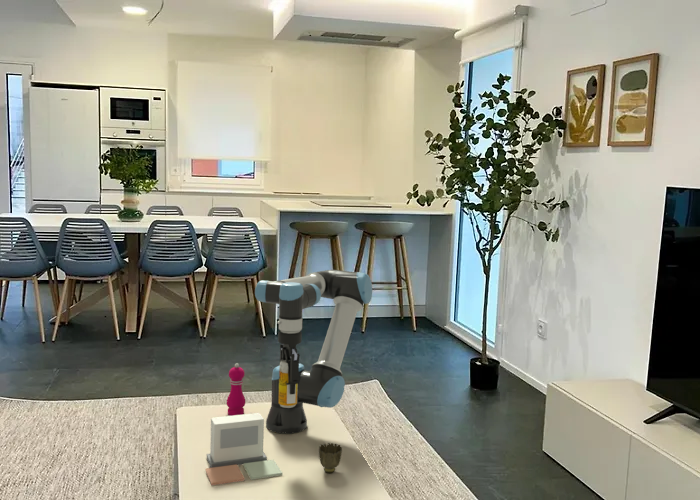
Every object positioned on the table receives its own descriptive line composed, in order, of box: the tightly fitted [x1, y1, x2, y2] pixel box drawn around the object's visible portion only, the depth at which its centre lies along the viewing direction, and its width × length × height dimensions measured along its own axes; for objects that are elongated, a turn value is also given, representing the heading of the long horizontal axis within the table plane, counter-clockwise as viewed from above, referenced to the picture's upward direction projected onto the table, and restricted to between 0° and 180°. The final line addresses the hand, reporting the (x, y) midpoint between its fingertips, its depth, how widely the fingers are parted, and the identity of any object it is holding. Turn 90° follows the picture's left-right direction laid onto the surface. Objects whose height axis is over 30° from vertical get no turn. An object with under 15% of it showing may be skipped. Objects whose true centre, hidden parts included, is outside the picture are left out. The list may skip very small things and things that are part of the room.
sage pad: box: [242, 459, 283, 481], centre depth 207 cm, size 10×10×1 cm
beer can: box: [278, 359, 298, 408], centre depth 215 cm, size 6×6×15 cm
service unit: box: [206, 412, 268, 468], centre depth 213 cm, size 18×8×14 cm, turn 113°
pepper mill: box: [226, 362, 246, 416], centre depth 254 cm, size 7×7×20 cm
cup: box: [318, 442, 343, 474], centre depth 208 cm, size 8×7×8 cm
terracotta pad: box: [204, 464, 245, 486], centre depth 203 cm, size 10×10×1 cm
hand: (287, 399), depth 215 cm, fingers closed on beer can, 6 cm apart
